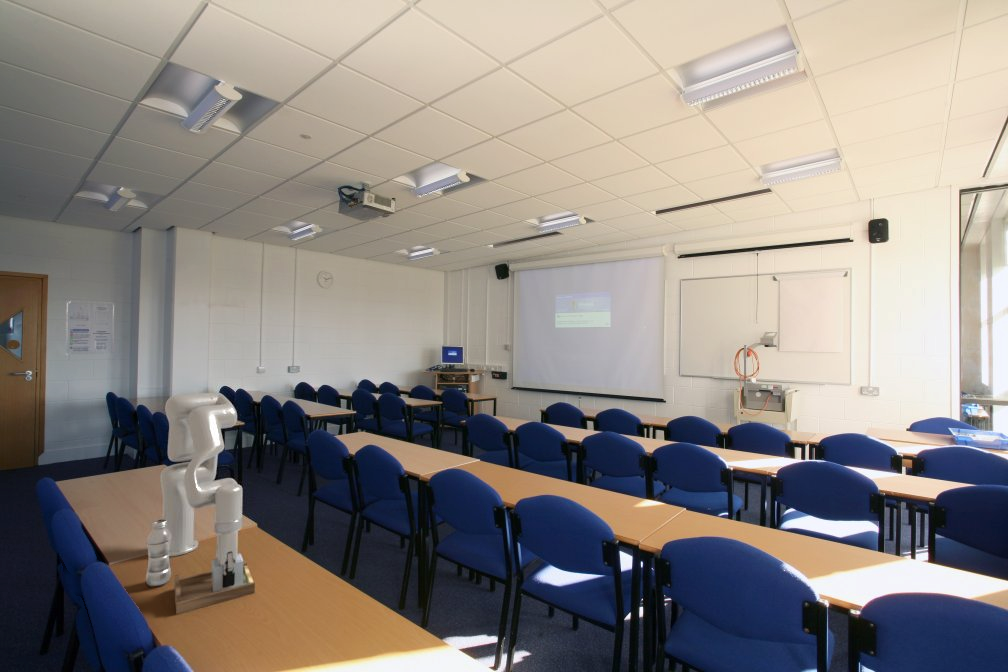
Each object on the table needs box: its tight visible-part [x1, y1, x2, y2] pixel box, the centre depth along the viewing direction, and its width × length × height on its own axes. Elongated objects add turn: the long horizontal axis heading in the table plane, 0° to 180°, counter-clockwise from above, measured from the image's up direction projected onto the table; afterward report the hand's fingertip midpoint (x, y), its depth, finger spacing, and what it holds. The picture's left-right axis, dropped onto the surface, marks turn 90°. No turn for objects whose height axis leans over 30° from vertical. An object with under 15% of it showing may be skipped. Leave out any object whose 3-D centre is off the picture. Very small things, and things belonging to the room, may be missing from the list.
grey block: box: [211, 553, 244, 592], centre depth 149 cm, size 6×8×8 cm
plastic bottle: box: [145, 518, 172, 587], centre depth 151 cm, size 6×7×20 cm
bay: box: [173, 562, 256, 616], centre depth 147 cm, size 16×20×5 cm
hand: (227, 581), depth 149 cm, fingers closed on grey block, 6 cm apart
